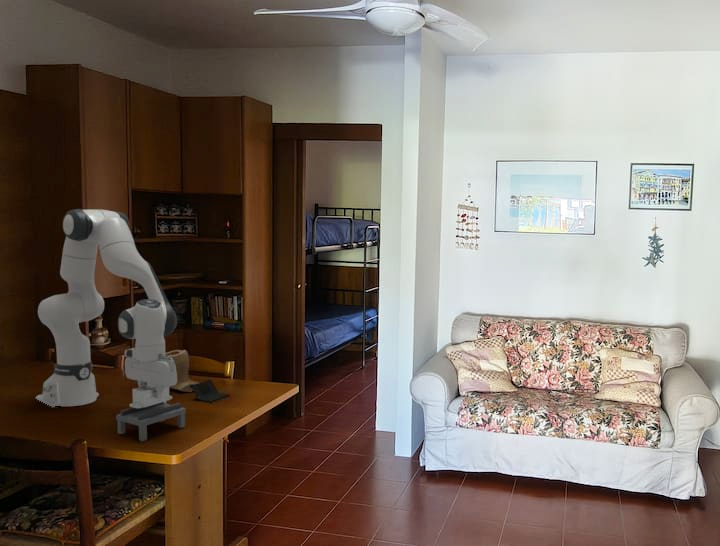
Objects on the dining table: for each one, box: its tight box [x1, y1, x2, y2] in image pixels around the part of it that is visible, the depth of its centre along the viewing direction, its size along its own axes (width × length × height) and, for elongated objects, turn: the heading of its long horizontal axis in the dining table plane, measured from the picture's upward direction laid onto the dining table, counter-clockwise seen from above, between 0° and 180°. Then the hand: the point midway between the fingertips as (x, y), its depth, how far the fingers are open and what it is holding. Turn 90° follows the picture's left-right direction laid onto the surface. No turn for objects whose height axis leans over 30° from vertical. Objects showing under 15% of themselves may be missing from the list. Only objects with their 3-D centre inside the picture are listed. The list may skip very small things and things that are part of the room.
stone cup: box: [165, 349, 199, 393], centre depth 267 cm, size 15×12×15 cm
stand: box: [115, 402, 187, 442], centre depth 219 cm, size 12×17×8 cm
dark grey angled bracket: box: [191, 379, 230, 404], centre depth 256 cm, size 12×7×10 cm
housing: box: [129, 384, 173, 409], centre depth 218 cm, size 13×5×5 cm, turn 147°
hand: (151, 396), depth 218 cm, fingers closed on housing, 5 cm apart
